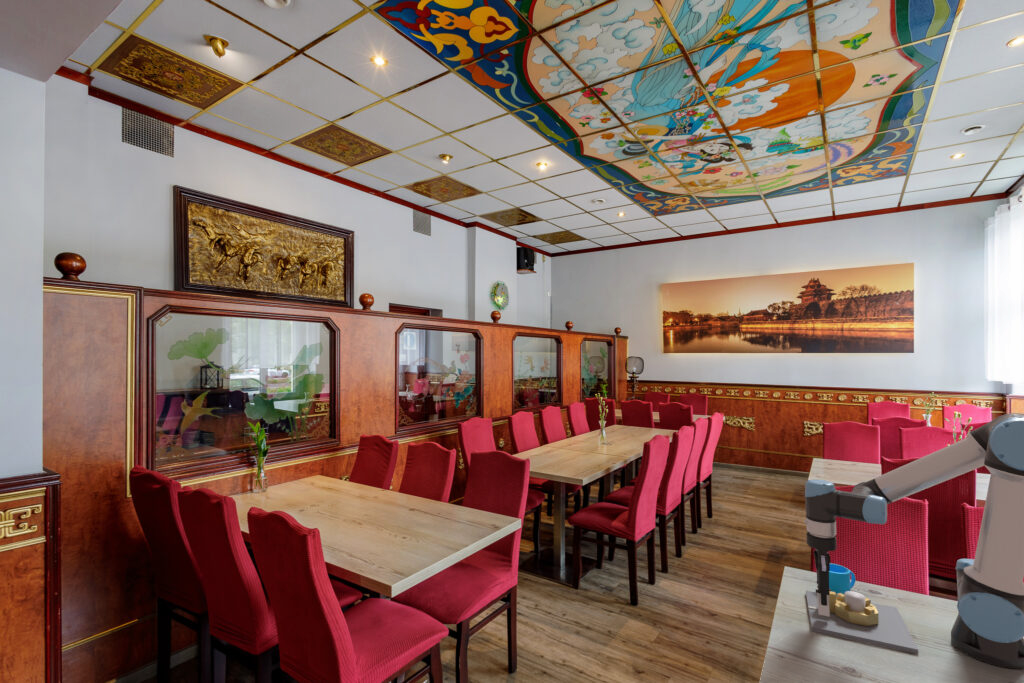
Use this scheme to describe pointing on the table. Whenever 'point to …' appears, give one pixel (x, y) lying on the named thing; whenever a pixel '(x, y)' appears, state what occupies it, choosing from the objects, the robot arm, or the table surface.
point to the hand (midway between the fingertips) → (823, 614)
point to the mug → (840, 579)
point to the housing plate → (883, 634)
